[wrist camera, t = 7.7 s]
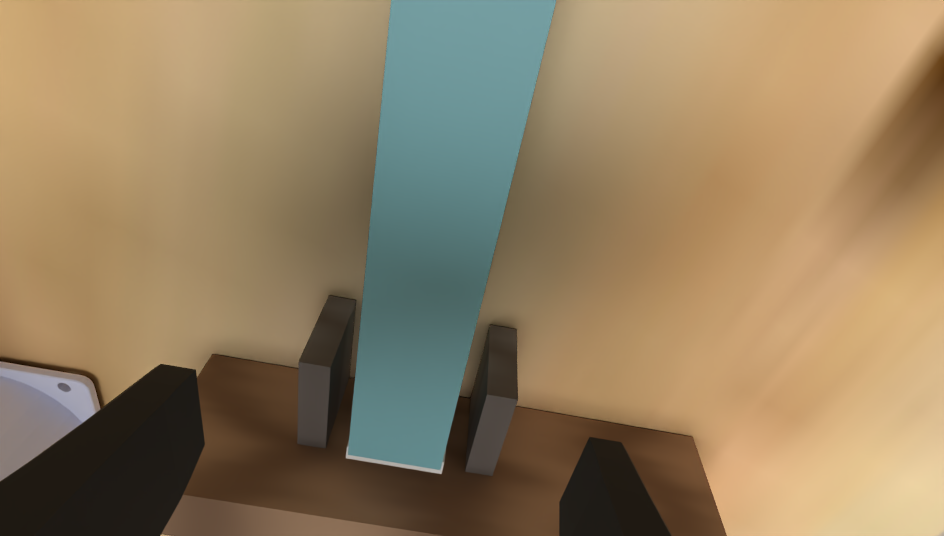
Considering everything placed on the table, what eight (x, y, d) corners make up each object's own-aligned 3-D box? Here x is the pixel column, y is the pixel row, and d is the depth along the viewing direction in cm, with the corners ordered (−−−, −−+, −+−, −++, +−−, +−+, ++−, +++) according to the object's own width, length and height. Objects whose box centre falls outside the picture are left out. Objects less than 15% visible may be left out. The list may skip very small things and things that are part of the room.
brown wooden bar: (216, 397, 24) (138, 530, 19) (204, 273, 20) (102, 396, 15) (670, 473, 25) (711, 618, 20) (735, 368, 21) (804, 513, 16)
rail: (374, 360, 22) (343, 466, 18) (424, -54, 14) (388, -37, 10) (453, 373, 22) (440, 481, 18) (546, -28, 14) (561, 1, 10)
